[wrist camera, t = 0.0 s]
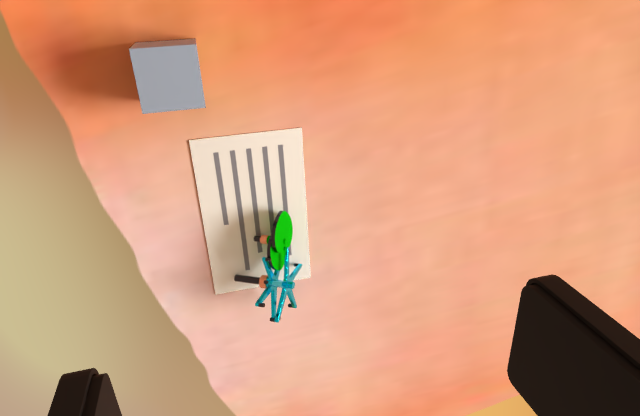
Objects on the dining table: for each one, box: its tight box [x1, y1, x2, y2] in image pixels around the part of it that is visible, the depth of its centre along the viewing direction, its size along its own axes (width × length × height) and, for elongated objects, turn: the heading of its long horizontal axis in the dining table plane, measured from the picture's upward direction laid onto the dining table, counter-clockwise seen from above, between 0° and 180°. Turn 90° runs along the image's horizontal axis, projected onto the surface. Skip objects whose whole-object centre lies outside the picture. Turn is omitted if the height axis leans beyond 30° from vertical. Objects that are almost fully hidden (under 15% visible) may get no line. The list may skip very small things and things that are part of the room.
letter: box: [189, 127, 311, 295], centre depth 49 cm, size 18×11×1 cm, turn 3°
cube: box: [129, 39, 206, 114], centre depth 39 cm, size 5×5×5 cm
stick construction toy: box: [234, 211, 302, 322], centre depth 49 cm, size 12×7×8 cm
